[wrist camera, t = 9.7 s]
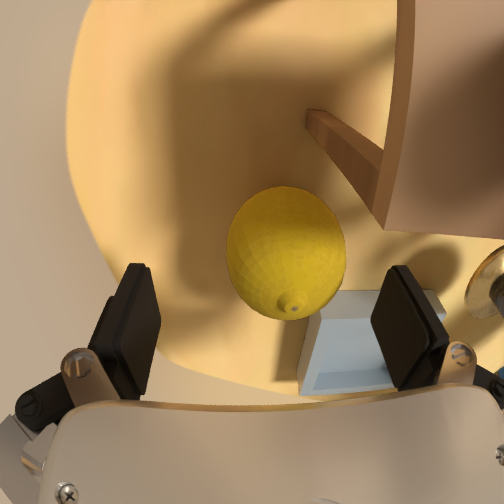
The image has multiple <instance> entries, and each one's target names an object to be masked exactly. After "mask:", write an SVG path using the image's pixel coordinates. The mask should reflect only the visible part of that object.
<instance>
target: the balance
mask: <svg viewBox="0 0 504 504" xmlns="http://www.w3.org/2000/svg"><path fill="white" fill-rule="evenodd" d="M464 300H465V306H466V308H467V309H468V311H469V313H470V314H471V315H472V316H473V317H474V318H478V319H484V318H488V317H491V316H493V315H495V314H497V313H499V312H500V314H501V315H502V317H503V318H504V245H503V246H501V247H499V248H498V249H496V250H495V251H494V252H492V253H491V254H490V255H489V256H488V257H487V258H486V259H485V260H484V261H483V262H482V263H481V264H480V266H479V267H478V268H477V270H476V271H475V272H474V274H473V276H472V277H471V279H470V281H469V283H468V286H467V288H466V292H465V298H464Z"/></svg>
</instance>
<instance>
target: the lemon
mask: <svg viewBox="0 0 504 504" xmlns="http://www.w3.org/2000/svg"><path fill="white" fill-rule="evenodd" d="M226 259H227V264H228V269H229V274H230V277H231V280H232V283H233V285H234V287H235V289H236V290H237V292H238V294H239V295H240V297H241V298H242V299H243V300H244V301H245V302H246V303H247V304H248V305H249V306H250V307H251V308H252V309H253V310H255V311H257V312H258V313H260V314H262V315H264V316H267V317H270V318H273V319H278V320H297V319H301V318H305V317H308V316H310V315H312V314H315V313H316V312H318V311H319V310H321V309H322V308H324V307H325V306H326V305H327V304H328V303H329V302H330V301H331V300H332V299H333V298H334V296H335V294H336V293H337V291H338V289H339V287H340V286H341V284H342V280H343V276H344V272H345V268H346V251H345V241H344V236H343V233H342V230H341V228H340V226H339V223H338V221H337V219H336V217H335V215H334V214H333V213H332V211H331V210H330V209H329V208H328V207H327V205H326V204H325V203H324V202H323V201H322V200H321V199H319V198H318V197H316V196H315V195H313V194H312V193H310V192H308V191H306V190H303V189H300V188H297V187H288V186H279V187H272V188H268V189H266V190H263V191H261V192H259V193H256V194H255V195H254V196H252V197H251V198H250V199H248V200H247V201H246V202H245V203H244V204H243V205H242V207H241V208H240V209H239V210H238V212H237V213H236V214H235V216H234V219H233V221H232V223H231V226H230V228H229V231H228V236H227V245H226Z"/></svg>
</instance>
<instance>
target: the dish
mask: <svg viewBox="0 0 504 504" xmlns="http://www.w3.org/2000/svg"><path fill="white" fill-rule="evenodd" d="M423 292H424V294H425V295H426V297H427V299H428V300H429V302H430V304H431V305H432V307H433V309H434V311H435V312H436V314H437V316H438V317H439V319H440V321H441V323H442V321H443V320H444V318H445V316H446V314H447V313H446V311H445V309H444V308H443V306H442V304H441V302H440V301H439V299H438V297H437V296H436V294H435V292H434V291H433V289H426V290H423ZM379 293H380V290H359V291H337V293H336V294H335V296H334V298H333V299H332V300H331V301H330V302H329V303H328V304H327V305H326V306H325V307H324V308H322V309H321V310H319V311H318V312H316V313H315V314H312V315H310V317H309V322H308V326H307V331H306V335H305V339H304V343H303V347H302V351H301V355H300V359H299V363H298V367H297V379H298V390H299V396H311V395H329V394H343V393H354V392H364V391H373V390H381V389H389V388H395V387H394V385H393V383H392V380H391V377H390V374H389V371H388V368H387V366H386V363H385V360H384V357H383V355H382V352H381V349H380V346H379V344H378V341H377V338H376V336H375V333H374V331H373V328H372V325H371V322H370V318H371V314H372V312H373V309H374V306H375V304H376V301H377V299H378V296H379Z"/></svg>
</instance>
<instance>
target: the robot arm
mask: <svg viewBox="0 0 504 504" xmlns="http://www.w3.org/2000/svg"><path fill="white" fill-rule="evenodd" d="M370 322H371V325H372V328H373V331H374V333H375V336H376V338H377V341H378V344H379V346H380V349H381V352H382V355H383V357H384V360H385V363H386V366H387V368H388V371H389V374H390V377H391V380H392V383H393V385H394V387H395V388H397V389H398V392H394V393H388V394H382V395H376V396H369V397H362V398H354V399H346V400H337V401H327V402H317V403H302V404H285V405H252V406H251V405H248V406H247V405H246V406H245V405H243V406H242V405H240V406H236V405H233V406H232V405H199V404H181V403H166V402H153V401H139V400H140V396H141V395H144V394H145V392H146V387H147V382H148V378H149V373H150V368H151V364H152V360H153V355H154V351H155V347H156V342H157V338H158V334H159V330H160V326H161V316H160V312H159V307H158V303H157V299H156V294H155V290H154V285H153V281H152V276H151V271H150V268H149V267H146V266H145V264H144V263H130V264H129V265H128V267H127V269H126V271H125V273H124V276H123V278H122V280H121V282H120V284H119V286H118V289H117V291H116V293H115V295H114V296H111V297H109V299H108V300H107V303H106V305H105V307H104V309H103V312H102V314H101V316H100V318H99V321H98V323H97V325H96V328H95V330H94V333H93V335H92V337H91V340H90V343H89V345H88V348H77V349H74V350H72V351H70V352H69V353H67V355H66V356H65V357H64V358H63V360H62V362H61V367H60V368H61V372H60V373H58V374H56V375H55V376H53V377H51V378H49V379H48V380H46V381H44V382H42V383H41V384H39V385H37V386H36V387H34V388H32V389H30V390H28V391H26V392H25V393H23V394H22V395H21V396H20V397H19V398H18V400H17V402H16V405H15V414H14V415H13V416H12V415H10V414H9V415H8V416H7V417H6V418H5V420H4V421H3V422H2V423H1V424H0V487H1V488H2V490H3V491H4V493H5V494H6V495H7V497H8V498H9V499H10V500H11V502H12V503H13V504H504V379H502V378H500V377H499V376H497V375H495V374H493V373H491V372H490V371H488V370H486V369H484V368H483V367H481V366H479V365H477V364H476V363H477V357H476V354H475V352H474V350H473V349H472V348H471V347H470V346H469V345H468V344H466V343H464V342H461V341H454V342H451V343H450V342H449V340H448V339H449V335H448V334H447V332H446V330H445V328H444V326H443V325H442V323H441V321H440V319H439V317H438V316H437V314H436V312H435V311H434V309H433V307H432V305H431V304H430V302H429V300H428V299H427V297H426V295H425V294H424V292H423V290H422V289H421V287H420V286H419V284H418V282H417V281H416V279H415V278H414V276H413V275H412V273H411V271H410V270H409V268H408V267H407V266H406V265H394V266H392V267H391V269H389V270H388V271H387V274H386V276H385V279H384V282H383V285H382V288H381V290H380V293H379V296H378V299H377V301H376V304H375V306H374V309H373V312H372V314H371V318H370ZM44 461H45V464H44V469H43V471H42V467H43V463H44Z"/></svg>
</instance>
